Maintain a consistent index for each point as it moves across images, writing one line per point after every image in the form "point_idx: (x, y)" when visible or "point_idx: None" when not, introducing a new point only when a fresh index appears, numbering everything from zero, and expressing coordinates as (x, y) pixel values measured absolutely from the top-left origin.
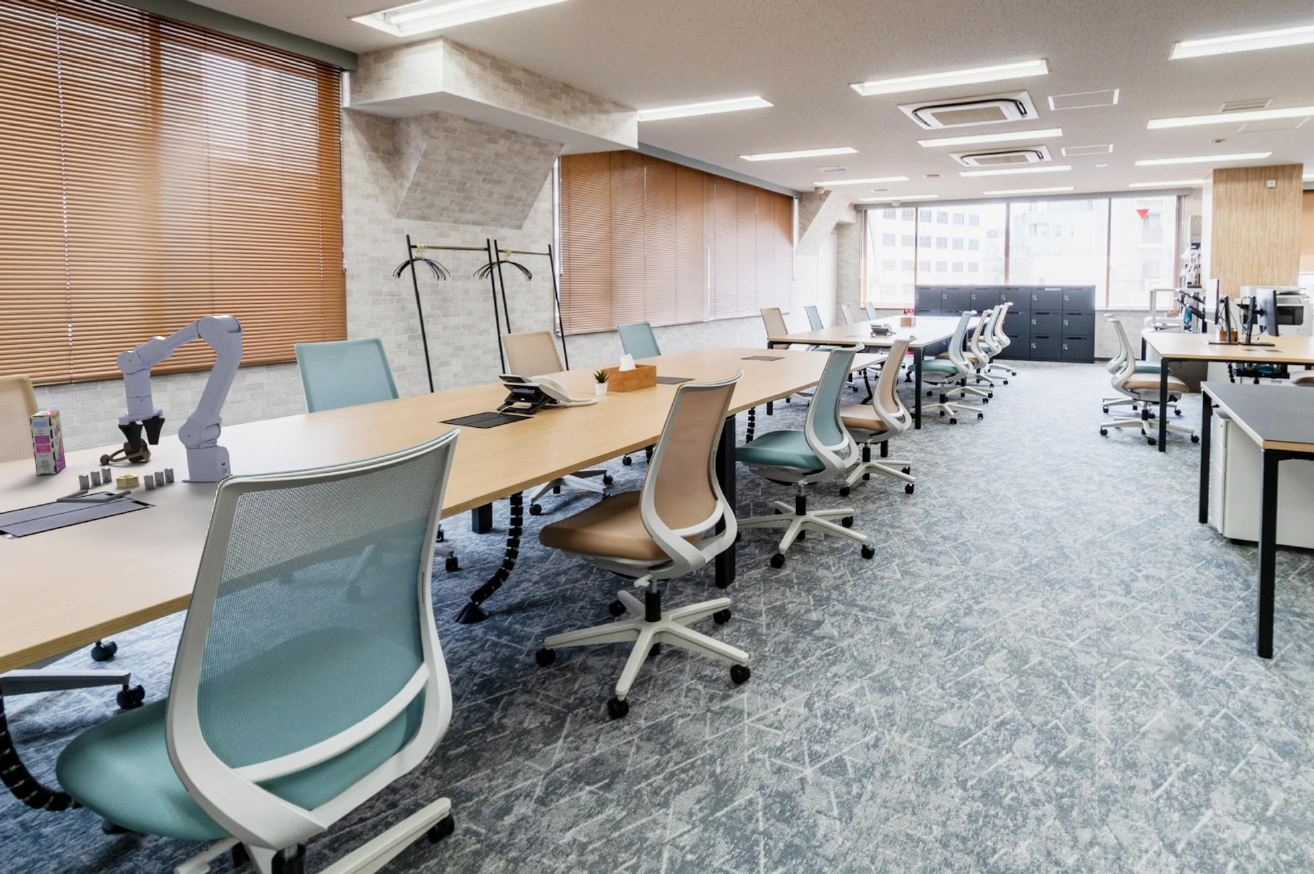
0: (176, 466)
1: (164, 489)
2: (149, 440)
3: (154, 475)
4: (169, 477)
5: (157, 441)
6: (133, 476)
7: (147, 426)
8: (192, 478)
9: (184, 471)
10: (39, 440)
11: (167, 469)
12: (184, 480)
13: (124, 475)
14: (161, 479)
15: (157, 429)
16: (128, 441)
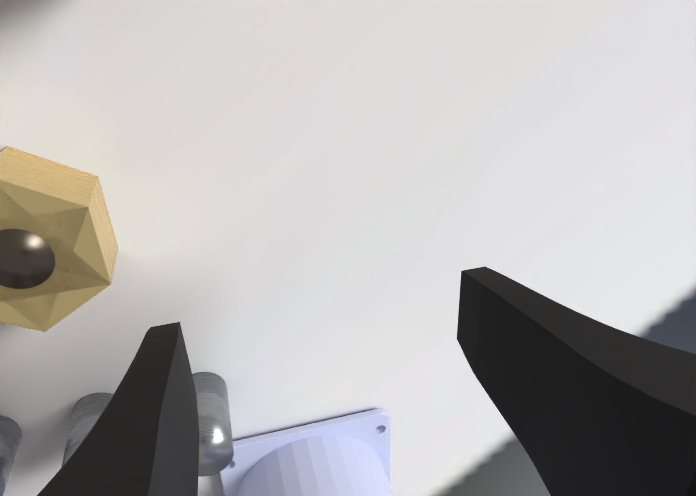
0: (644, 93)
1: (29, 492)
2: (486, 304)
3: (64, 460)
4: None
5: (476, 371)
6: (34, 306)
7: (607, 423)
8: (238, 494)
9: (485, 257)
10: None
11: None
12: None
13: (36, 212)
14: None
15: (555, 492)
16: (116, 399)
